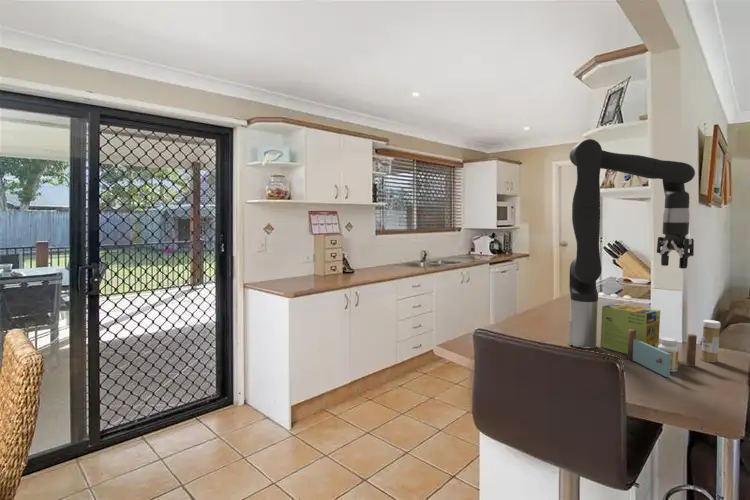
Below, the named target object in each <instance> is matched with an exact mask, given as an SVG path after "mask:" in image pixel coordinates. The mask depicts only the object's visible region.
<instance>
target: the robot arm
mask: <svg viewBox="0 0 750 500" xmlns="http://www.w3.org/2000/svg"><path fill="white" fill-rule="evenodd" d="M569 161H570V162H571V163H572V165H574V166H575V167H576V172H577V173H576V186H575V190H574V193H573V198H572V204H571V205H572V206H571V220H572V222H571V223H572V227H573V231H574V232H573V233H574V236H575V240H576V257H575V258H574V259H573V260H572V262H571V263H570V265H569V281H568V282H569V292H570V300H569V301H570V305H569V306H570V307H569V319H568V320H569V321H568V322H569V325H568V327H569V328H568V346H571V345H573V346H572V347H575V348H579V347H581V348H580V349H585V348H584V347H590V348H589V349H595V348H597V343H598V342H597V338H598V313H599V312H598V311H599V310H598V309H599V293H598V289H597V281H598V280H599V278H600V277H601V275H602V262H601V253H600V237H601V236H600V232H601V186H600V185H601V184H600V183H601V181H600V180H601V179H600V175H601V170H608V171H613V172H614V171H615V172H619V173H623V174H628V175H631V176H635V177H640V178H644V179H650V180H651V179H652V180H653V179H654V180H657V179H660V180H662V186H663V188H662V189H663V191H664V197H665V198H664V210H663V215H662V232H661V233H662V235H664V236H659V237H657V243H656V253H657V254H659V255H660V256H661V257H660V265H661V267H662V266H663V267H667V266H669V263H670V262H669V260H670V255H669V254H670V253H671V252H672V251H675V252H676V253H677V254H678V255H679V264H678V269H682V270H683V269H687V267H688V265H689V264H688V263H689V262H688V261H689V260H688V259H689V258H690V257H693V256H694V255H695V253H694V252H695V250H694V249H695V246H694V245H695V244H694V243H695V240H694V238H687V237H686V236H688V235H689V233H690V231H689V230H690V193H689V192H688V191H686V187H685V184H687V183H689V182H691V181H692V180H693V179H694V177H695V175H696V170H695V168H694V167H693V166H692V165H691V164H689V163H686V162H682V161H676V160H675V161H672V160H664V159H663V160H662V159H658V158H654V157H649V156H644V155H640V154H628V153H617V152H611V151H606V150H603V149H602V146H601V144H600V142H598V141H597V140H595V139H593V138H592V139H591V138H589V139H588V138H587V139H584V140H581V141H580V142H578V143H577V144H575V145H574V146H572V148H571V150H570V152H569ZM594 347H595V348H594Z"/></svg>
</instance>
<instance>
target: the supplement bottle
mask: <svg viewBox="0 0 750 500" xmlns="http://www.w3.org/2000/svg"><path fill="white" fill-rule="evenodd" d="M676 345H677V339H675V338H671V337H661V338H660V343H659V345H658V349H660V350H663V351H665V352H667V353H670V354H671V358H670V373H676V372H678V370H679V353H680V352H679V348H678V346H676Z"/></svg>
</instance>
